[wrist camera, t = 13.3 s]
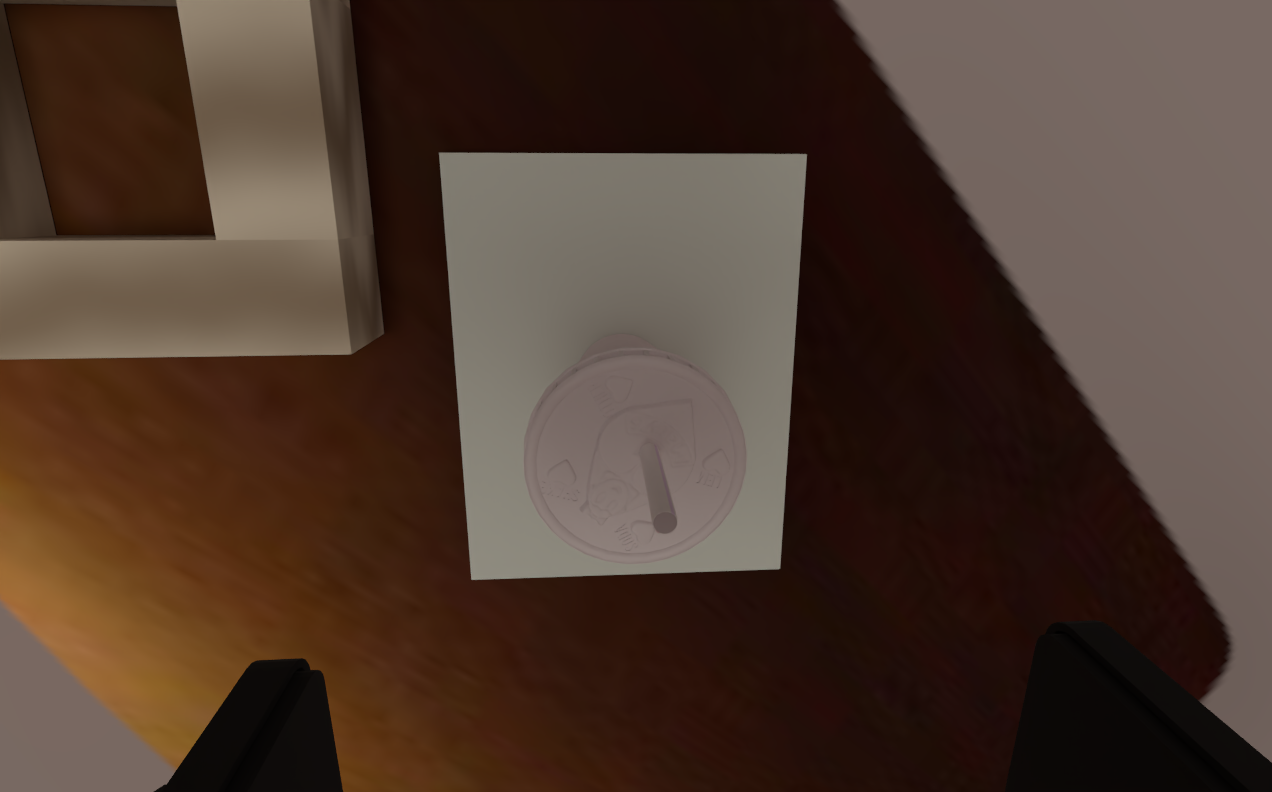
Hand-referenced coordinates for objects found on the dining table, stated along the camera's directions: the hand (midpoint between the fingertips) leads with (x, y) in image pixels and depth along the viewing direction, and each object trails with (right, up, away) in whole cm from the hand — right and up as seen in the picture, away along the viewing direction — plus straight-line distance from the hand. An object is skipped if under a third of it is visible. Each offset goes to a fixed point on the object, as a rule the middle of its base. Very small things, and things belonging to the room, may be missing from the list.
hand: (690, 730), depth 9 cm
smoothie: (-1, +5, +19) cm, 20 cm away
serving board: (-1, +5, +20) cm, 21 cm away
